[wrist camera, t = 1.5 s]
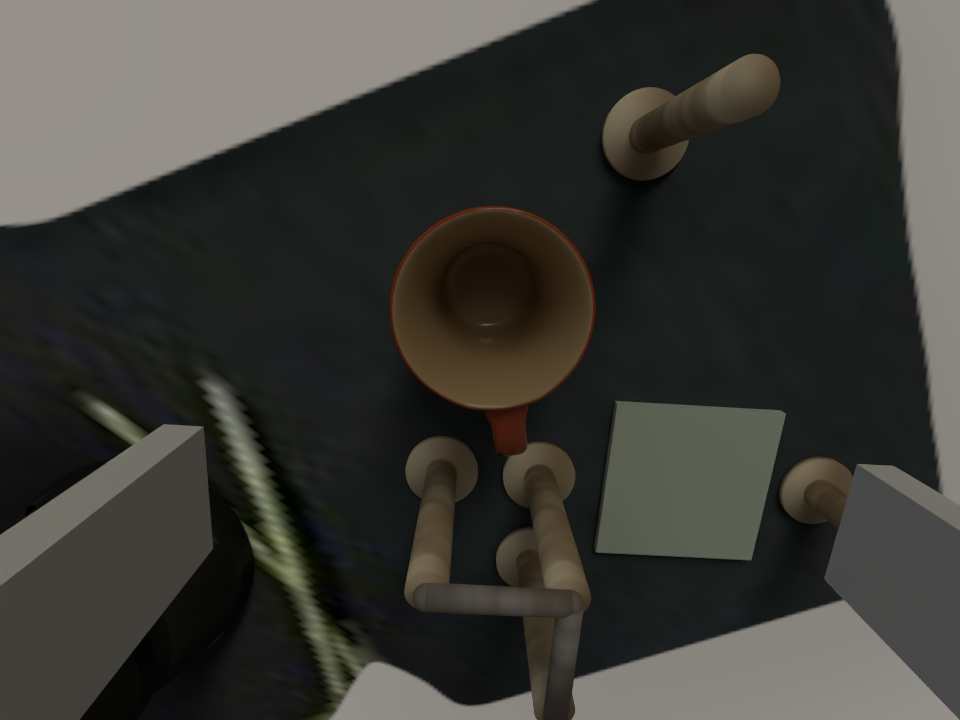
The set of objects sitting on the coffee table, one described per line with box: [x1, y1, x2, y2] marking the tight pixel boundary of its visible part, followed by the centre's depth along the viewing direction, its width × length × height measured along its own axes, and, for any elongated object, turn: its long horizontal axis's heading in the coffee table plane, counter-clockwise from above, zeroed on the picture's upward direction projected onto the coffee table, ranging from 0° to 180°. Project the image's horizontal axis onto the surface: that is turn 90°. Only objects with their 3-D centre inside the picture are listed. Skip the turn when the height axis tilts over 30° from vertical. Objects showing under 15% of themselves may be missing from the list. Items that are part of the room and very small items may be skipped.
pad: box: [594, 401, 786, 560], centre depth 35 cm, size 11×11×1 cm
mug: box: [389, 206, 596, 456], centre depth 27 cm, size 12×9×10 cm
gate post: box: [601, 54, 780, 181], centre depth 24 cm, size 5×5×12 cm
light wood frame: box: [404, 436, 591, 720], centre depth 30 cm, size 11×11×13 cm
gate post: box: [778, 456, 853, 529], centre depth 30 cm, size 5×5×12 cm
